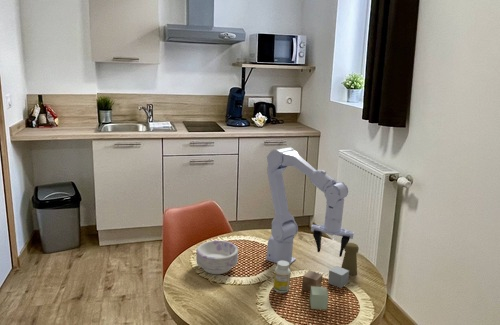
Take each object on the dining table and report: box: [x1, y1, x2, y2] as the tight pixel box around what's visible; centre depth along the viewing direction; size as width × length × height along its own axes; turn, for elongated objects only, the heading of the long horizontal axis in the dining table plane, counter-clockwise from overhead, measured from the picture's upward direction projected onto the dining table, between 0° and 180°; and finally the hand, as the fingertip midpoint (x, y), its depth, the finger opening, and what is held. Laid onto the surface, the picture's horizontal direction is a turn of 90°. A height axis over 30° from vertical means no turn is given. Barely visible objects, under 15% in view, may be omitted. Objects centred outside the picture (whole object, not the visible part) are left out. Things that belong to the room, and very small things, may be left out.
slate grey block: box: [327, 265, 350, 289], centre depth 145 cm, size 5×5×5 cm
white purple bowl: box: [195, 240, 239, 275], centre depth 151 cm, size 15×15×8 cm
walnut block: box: [301, 269, 323, 293], centre depth 141 cm, size 5×5×5 cm
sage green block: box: [309, 286, 329, 311], centre depth 131 cm, size 5×5×5 cm
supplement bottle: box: [273, 260, 292, 294], centre depth 139 cm, size 5×5×10 cm
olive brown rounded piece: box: [340, 242, 360, 276], centre depth 153 cm, size 6×6×11 cm
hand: (329, 253), depth 145 cm, fingers open, 7 cm apart
